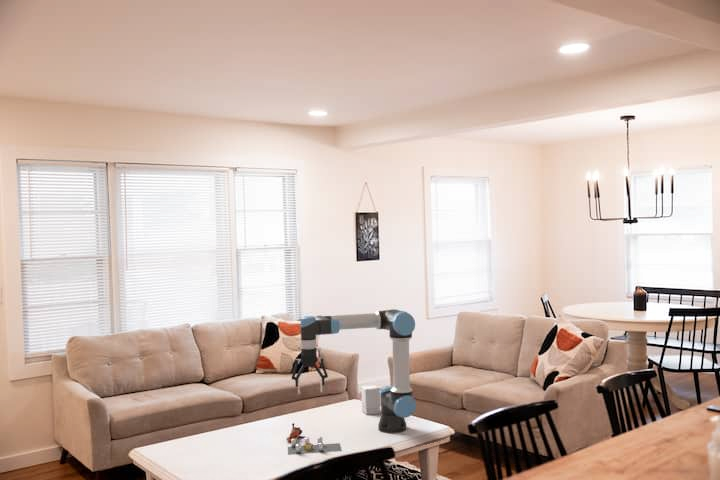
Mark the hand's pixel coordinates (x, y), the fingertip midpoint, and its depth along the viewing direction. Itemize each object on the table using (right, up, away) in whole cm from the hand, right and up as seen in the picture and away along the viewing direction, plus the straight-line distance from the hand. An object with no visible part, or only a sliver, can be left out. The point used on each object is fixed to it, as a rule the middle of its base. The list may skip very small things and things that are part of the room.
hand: (310, 392), depth 327 cm
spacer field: (-1, -27, -2) cm, 27 cm away
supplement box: (+31, -26, +63) cm, 75 cm away
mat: (+2, -28, -2) cm, 28 cm away
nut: (-1, -27, -2) cm, 27 cm away
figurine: (-8, -28, +16) cm, 34 cm away
